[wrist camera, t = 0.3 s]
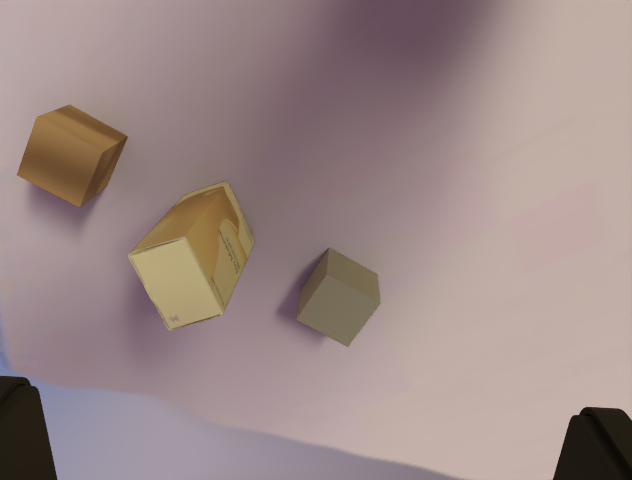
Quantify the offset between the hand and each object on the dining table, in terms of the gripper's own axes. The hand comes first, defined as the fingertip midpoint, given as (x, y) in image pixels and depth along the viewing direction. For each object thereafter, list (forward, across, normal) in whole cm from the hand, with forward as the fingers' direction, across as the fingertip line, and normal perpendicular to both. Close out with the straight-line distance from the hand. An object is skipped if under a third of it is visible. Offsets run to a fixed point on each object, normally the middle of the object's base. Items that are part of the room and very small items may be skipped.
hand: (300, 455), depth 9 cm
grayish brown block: (+35, -2, +15) cm, 38 cm away
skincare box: (+35, +9, +9) cm, 37 cm away
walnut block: (+35, +20, +3) cm, 40 cm away
